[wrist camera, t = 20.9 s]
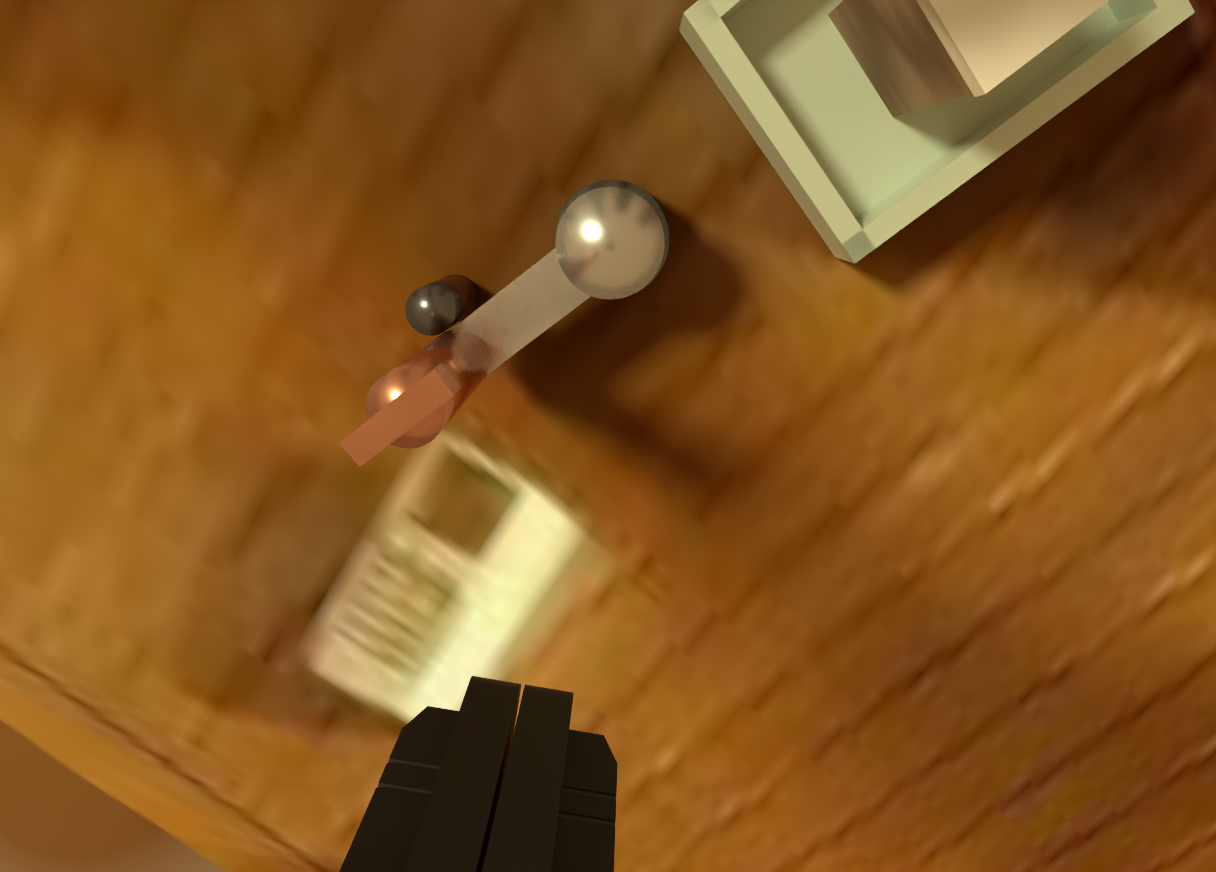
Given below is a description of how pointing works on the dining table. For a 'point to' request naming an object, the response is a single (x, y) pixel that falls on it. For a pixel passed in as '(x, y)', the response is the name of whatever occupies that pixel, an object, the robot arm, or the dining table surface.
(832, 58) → the tray
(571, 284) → the crank
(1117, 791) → the dining table surface
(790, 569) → the dining table surface
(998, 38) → the block
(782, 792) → the dining table surface
